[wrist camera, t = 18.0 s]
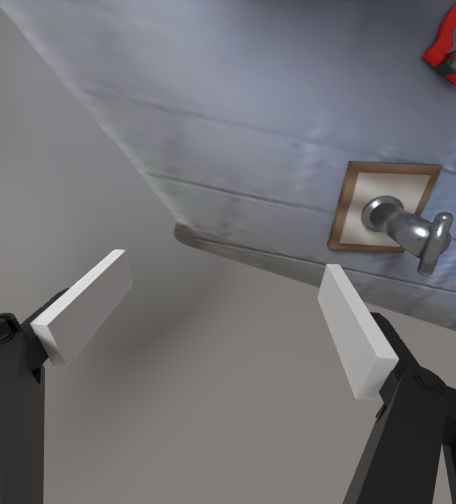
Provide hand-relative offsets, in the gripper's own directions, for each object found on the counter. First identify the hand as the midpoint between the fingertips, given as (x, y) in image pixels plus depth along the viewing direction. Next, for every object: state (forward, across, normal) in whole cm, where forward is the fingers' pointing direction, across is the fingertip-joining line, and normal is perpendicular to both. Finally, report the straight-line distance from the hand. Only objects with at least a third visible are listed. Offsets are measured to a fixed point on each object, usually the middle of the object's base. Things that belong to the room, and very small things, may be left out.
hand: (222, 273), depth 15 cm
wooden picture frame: (+31, +25, -4) cm, 40 cm away
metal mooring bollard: (+29, +25, -4) cm, 38 cm away
